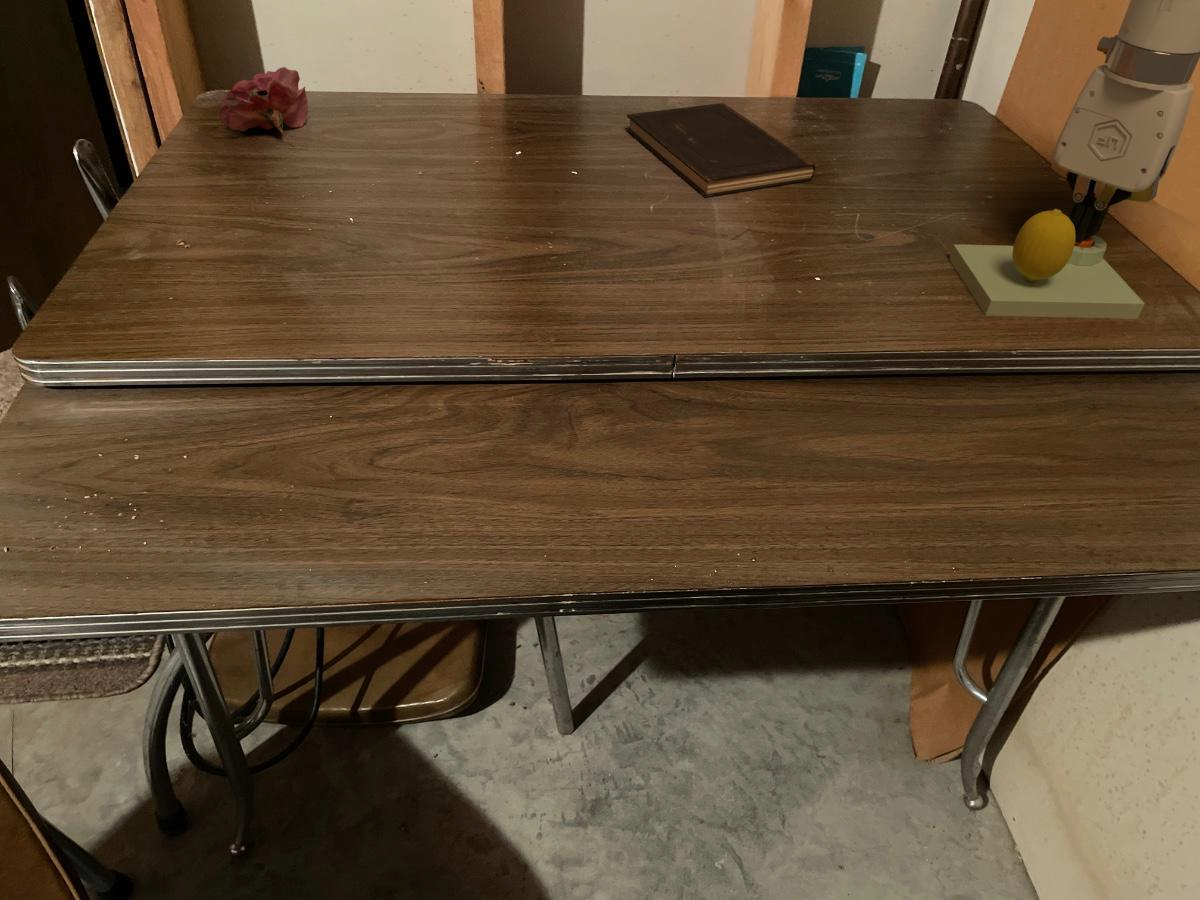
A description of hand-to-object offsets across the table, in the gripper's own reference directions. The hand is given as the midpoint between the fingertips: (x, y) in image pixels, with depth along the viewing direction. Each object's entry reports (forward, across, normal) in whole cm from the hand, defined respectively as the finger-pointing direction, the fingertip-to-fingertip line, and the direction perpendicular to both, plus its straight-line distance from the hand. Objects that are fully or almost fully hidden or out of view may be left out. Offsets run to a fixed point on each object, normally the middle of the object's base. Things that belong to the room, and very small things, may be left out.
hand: (1078, 236), depth 100 cm
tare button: (+2, 0, 0) cm, 2 cm away
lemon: (+2, 0, -10) cm, 10 cm away
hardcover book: (+4, -46, -8) cm, 47 cm away
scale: (+4, 0, -7) cm, 8 cm away
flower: (+5, -87, -51) cm, 101 cm away
